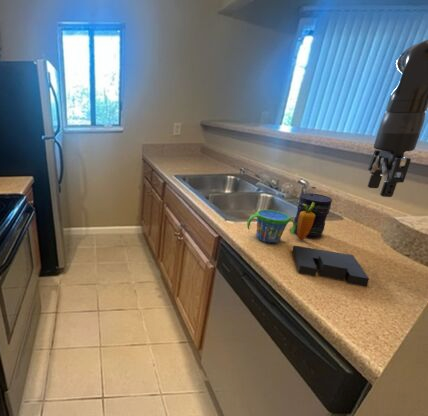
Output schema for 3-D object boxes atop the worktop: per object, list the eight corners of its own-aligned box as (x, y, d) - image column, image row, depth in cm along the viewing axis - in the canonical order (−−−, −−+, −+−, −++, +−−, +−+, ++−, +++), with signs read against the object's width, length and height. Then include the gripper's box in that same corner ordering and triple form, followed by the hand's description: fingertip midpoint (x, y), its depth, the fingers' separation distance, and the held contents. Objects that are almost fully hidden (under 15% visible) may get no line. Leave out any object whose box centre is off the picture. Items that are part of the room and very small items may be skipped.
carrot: (294, 242, 101) (304, 204, 96) (290, 236, 106) (300, 200, 100) (310, 244, 100) (321, 205, 95) (305, 238, 104) (316, 201, 99)
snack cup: (288, 236, 106) (295, 212, 102) (294, 249, 97) (301, 223, 93) (244, 230, 112) (248, 207, 108) (245, 241, 102) (250, 216, 99)
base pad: (350, 261, 89) (352, 255, 88) (366, 286, 77) (369, 278, 76) (292, 251, 95) (293, 245, 94) (298, 272, 84) (300, 265, 83)
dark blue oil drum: (327, 239, 103) (341, 194, 96) (298, 237, 105) (310, 193, 98) (313, 228, 112) (325, 186, 106) (287, 227, 114) (297, 185, 107)
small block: (338, 270, 84) (342, 259, 83) (343, 280, 80) (347, 268, 78) (316, 266, 87) (319, 255, 85) (320, 275, 82) (323, 264, 80)
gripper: (436, 133, 62) (411, 201, 67) (405, 128, 74) (385, 186, 79) (391, 133, 65) (371, 198, 71) (368, 128, 77) (352, 184, 82)
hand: (378, 191), depth 75 cm, fingers open, 8 cm apart
